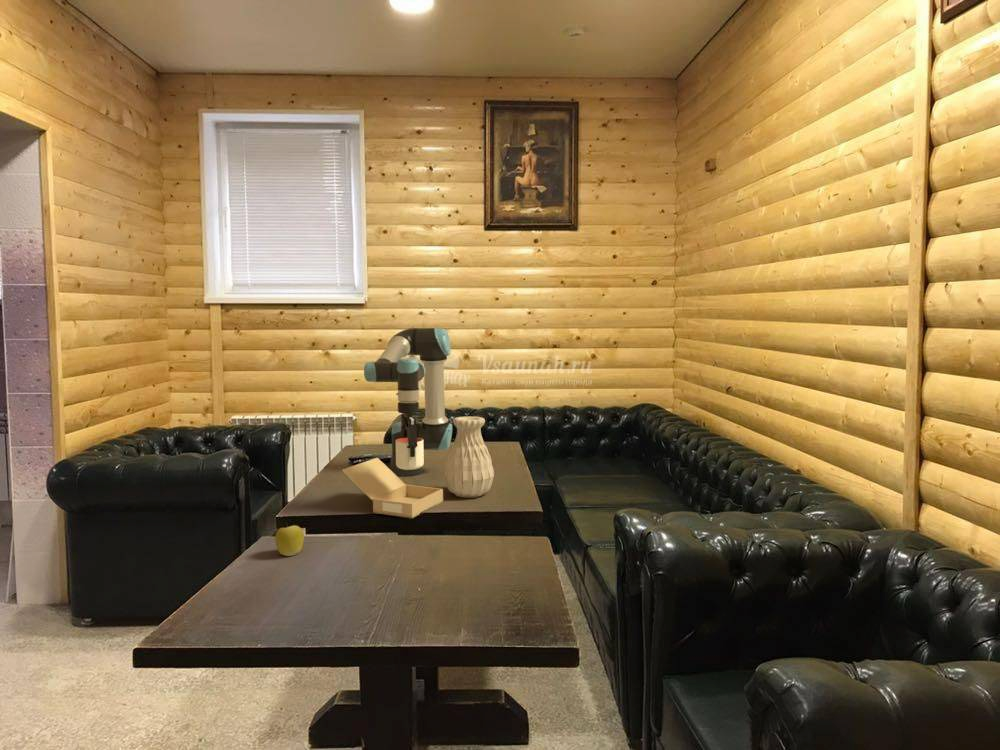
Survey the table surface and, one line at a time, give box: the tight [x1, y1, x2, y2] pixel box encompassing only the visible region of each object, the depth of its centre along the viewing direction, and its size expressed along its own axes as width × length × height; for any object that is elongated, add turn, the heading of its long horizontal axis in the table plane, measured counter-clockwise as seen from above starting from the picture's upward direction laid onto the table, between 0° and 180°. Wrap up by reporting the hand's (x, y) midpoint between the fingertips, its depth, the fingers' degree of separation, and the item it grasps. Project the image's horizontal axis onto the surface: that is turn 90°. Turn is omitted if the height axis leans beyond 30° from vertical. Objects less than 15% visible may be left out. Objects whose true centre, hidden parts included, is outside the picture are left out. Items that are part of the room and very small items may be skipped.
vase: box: [443, 415, 495, 499], centre depth 259 cm, size 20×20×30 cm
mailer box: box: [372, 484, 444, 519], centre depth 242 cm, size 22×16×5 cm
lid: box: [341, 457, 407, 501], centre depth 247 cm, size 22×16×1 cm
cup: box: [396, 438, 425, 470], centre depth 241 cm, size 10×10×10 cm
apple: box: [274, 522, 305, 557], centre depth 194 cm, size 8×8×10 cm
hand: (408, 462), depth 241 cm, fingers closed on cup, 10 cm apart
